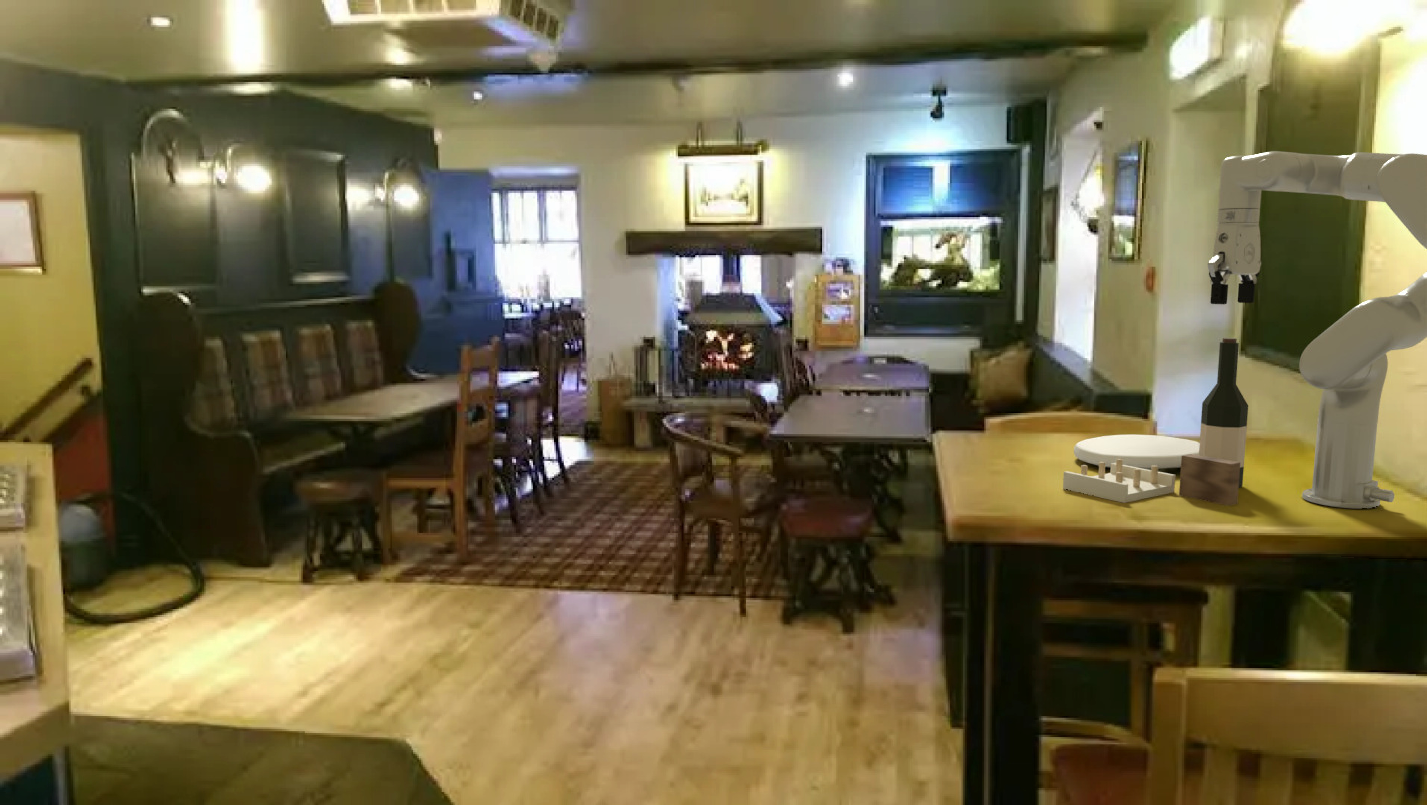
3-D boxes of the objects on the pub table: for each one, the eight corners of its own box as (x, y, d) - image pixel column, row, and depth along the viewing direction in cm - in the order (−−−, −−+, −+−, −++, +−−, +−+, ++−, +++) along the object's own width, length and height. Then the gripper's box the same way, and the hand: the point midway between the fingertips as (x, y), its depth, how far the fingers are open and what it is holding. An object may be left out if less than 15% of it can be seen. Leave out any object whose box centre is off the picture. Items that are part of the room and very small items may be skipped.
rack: (1174, 492, 200) (1175, 467, 200) (1124, 502, 192) (1125, 477, 191) (1112, 479, 212) (1114, 455, 211) (1063, 488, 203) (1064, 464, 203)
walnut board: (1237, 503, 191) (1240, 462, 190) (1228, 506, 189) (1231, 464, 188) (1188, 493, 199) (1190, 453, 198) (1179, 495, 198) (1181, 455, 197)
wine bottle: (1217, 490, 202) (1228, 340, 198) (1187, 481, 210) (1197, 337, 205) (1251, 487, 204) (1262, 339, 200) (1221, 478, 212) (1231, 336, 208)
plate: (1090, 454, 216) (1060, 433, 242) (1092, 483, 216) (1062, 460, 243) (1227, 442, 212) (1182, 422, 239) (1229, 472, 213) (1183, 449, 239)
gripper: (1231, 217, 196) (1225, 305, 199) (1279, 218, 206) (1273, 303, 208) (1195, 218, 203) (1190, 303, 205) (1243, 219, 212) (1238, 301, 214)
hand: (1232, 303), depth 207 cm, fingers open, 9 cm apart
